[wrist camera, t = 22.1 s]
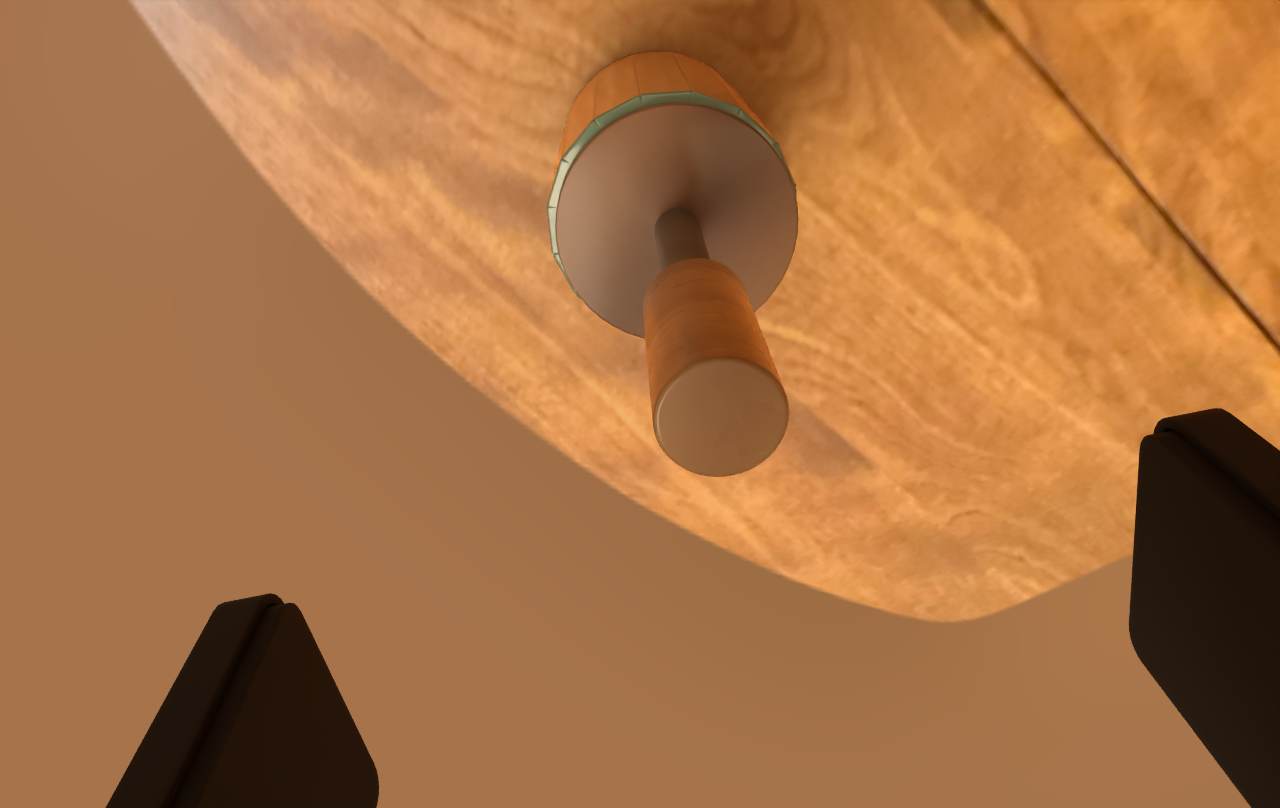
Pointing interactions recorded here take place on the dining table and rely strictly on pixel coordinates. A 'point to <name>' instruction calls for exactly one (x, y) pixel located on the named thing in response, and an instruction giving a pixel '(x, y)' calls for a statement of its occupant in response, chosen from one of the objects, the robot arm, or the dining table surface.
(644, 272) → the brush
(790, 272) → the dining table surface
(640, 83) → the holder
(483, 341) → the dining table surface
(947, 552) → the dining table surface
